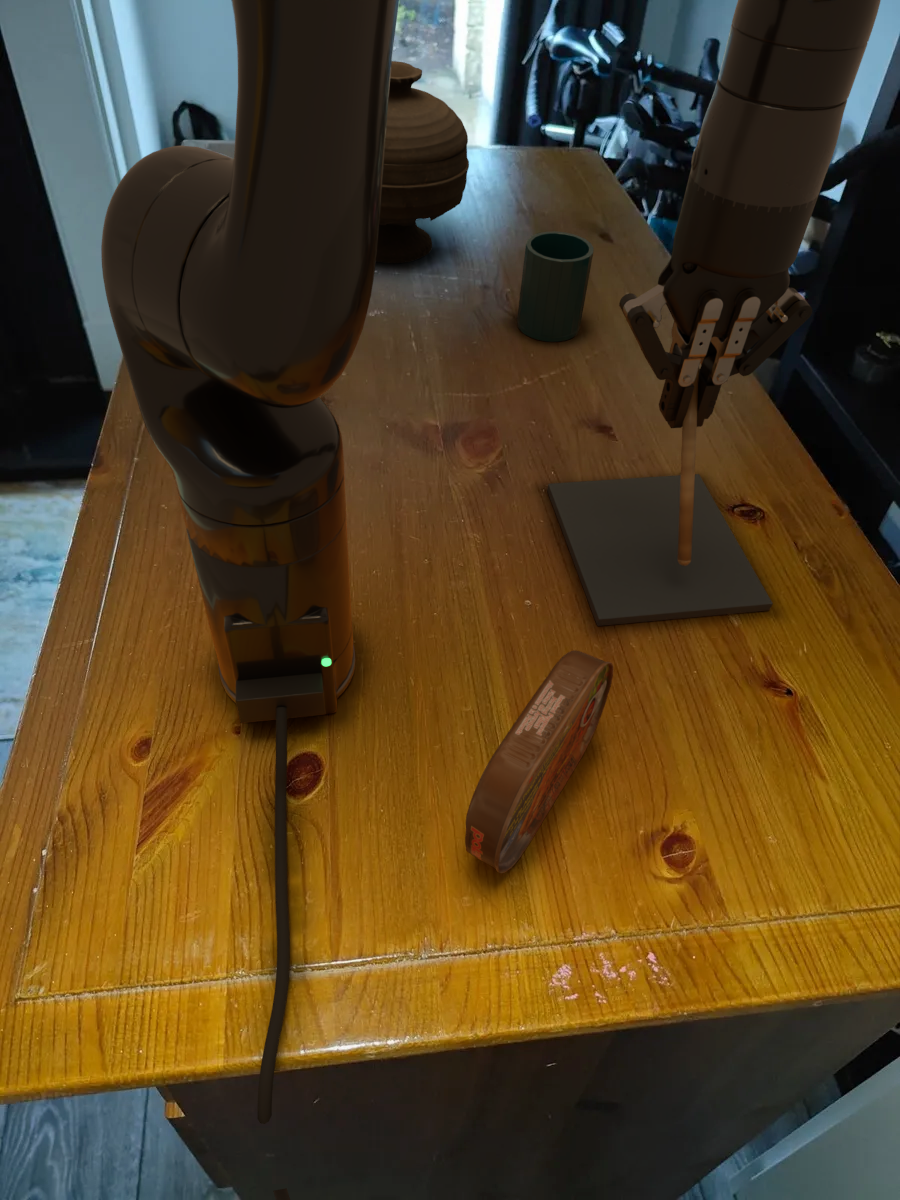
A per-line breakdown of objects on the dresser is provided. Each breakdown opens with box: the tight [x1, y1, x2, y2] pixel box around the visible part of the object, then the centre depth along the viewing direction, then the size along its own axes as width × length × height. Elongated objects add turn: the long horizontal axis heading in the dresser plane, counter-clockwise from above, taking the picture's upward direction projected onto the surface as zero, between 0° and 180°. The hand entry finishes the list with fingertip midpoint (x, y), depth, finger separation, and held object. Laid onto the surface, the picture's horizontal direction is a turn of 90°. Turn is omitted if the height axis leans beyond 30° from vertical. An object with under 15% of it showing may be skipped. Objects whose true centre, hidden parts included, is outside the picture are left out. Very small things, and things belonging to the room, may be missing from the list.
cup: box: [516, 230, 595, 343], centre depth 91 cm, size 7×7×9 cm
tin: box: [464, 649, 614, 874], centre depth 51 cm, size 15×3×8 cm, turn 148°
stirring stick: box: [678, 367, 700, 566], centre depth 62 cm, size 8×1×13 cm, turn 9°
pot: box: [376, 60, 470, 264], centre depth 99 cm, size 18×18×20 cm
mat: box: [546, 473, 773, 627], centre depth 70 cm, size 16×14×1 cm
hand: (682, 420), depth 62 cm, fingers closed on stirring stick, 1 cm apart
